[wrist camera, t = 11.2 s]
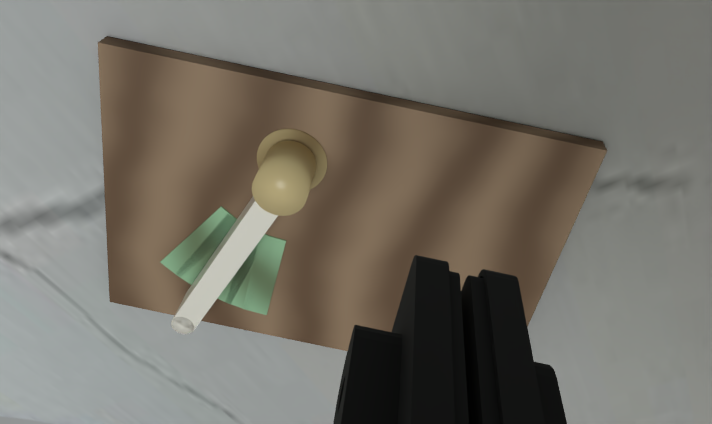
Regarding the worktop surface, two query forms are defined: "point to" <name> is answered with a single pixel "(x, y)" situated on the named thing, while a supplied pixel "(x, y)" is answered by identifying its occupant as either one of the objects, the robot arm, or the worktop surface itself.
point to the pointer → (250, 226)
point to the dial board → (319, 193)
